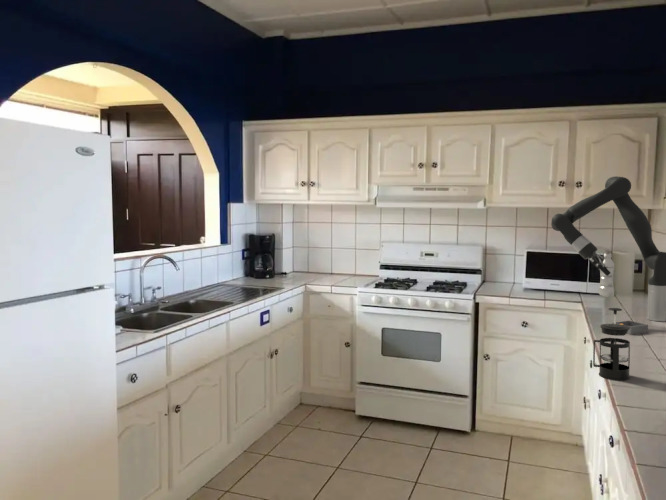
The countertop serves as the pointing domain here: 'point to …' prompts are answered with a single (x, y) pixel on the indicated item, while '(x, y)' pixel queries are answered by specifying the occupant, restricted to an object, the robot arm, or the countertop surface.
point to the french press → (613, 351)
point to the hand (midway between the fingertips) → (610, 273)
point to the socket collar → (634, 327)
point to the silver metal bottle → (607, 281)
